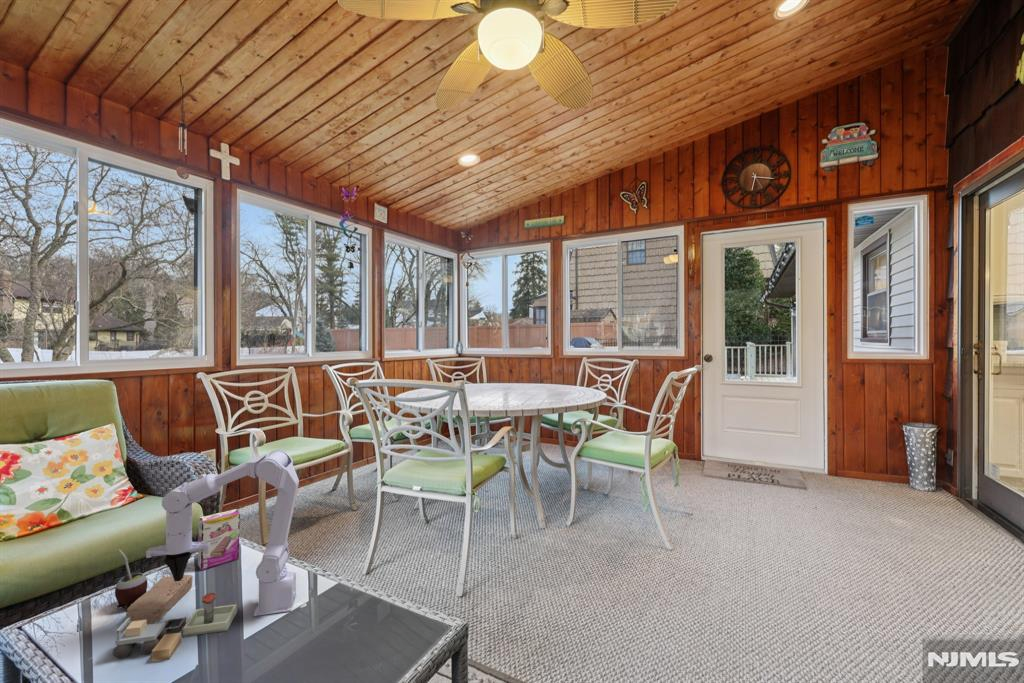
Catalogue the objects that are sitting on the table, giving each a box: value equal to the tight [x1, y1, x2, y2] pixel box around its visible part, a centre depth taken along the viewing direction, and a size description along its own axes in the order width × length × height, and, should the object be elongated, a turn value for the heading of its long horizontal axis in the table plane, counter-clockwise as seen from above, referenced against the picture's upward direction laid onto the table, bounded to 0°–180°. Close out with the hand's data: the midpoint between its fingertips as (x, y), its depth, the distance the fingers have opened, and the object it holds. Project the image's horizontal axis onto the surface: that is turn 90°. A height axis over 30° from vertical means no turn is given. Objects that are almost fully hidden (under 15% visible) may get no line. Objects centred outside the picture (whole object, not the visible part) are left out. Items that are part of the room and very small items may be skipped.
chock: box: [151, 631, 182, 663], centre depth 109 cm, size 4×6×3 cm, turn 14°
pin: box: [201, 592, 217, 624], centre depth 119 cm, size 3×3×7 cm
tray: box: [182, 603, 238, 638], centre depth 119 cm, size 10×8×2 cm
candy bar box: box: [197, 508, 241, 571], centre depth 150 cm, size 11×5×16 cm, turn 136°
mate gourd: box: [114, 549, 148, 613], centre depth 126 cm, size 8×8×15 cm
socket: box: [164, 616, 187, 634], centre depth 117 cm, size 4×4×2 cm
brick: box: [125, 574, 194, 625], centre depth 127 cm, size 17×8×5 cm, turn 7°
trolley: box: [112, 617, 167, 660], centre depth 110 cm, size 9×5×7 cm, turn 106°
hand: (178, 579), depth 123 cm, fingers closed
